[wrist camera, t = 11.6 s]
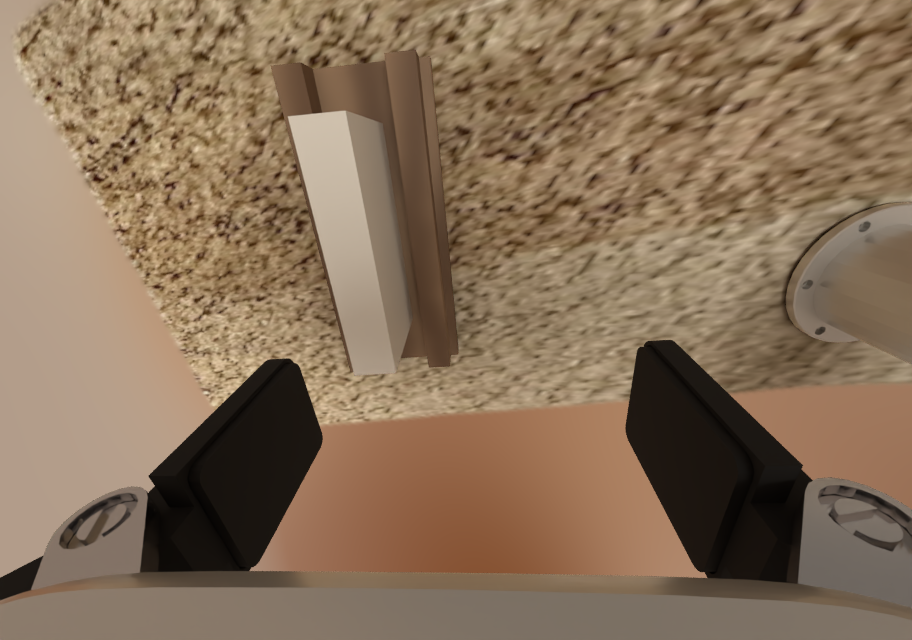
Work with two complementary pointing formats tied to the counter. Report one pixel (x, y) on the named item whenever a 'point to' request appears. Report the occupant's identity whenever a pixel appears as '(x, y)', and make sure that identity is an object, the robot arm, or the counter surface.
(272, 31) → the counter surface
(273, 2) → the counter surface
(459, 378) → the counter surface
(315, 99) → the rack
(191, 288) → the counter surface
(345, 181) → the white rectangular slab
